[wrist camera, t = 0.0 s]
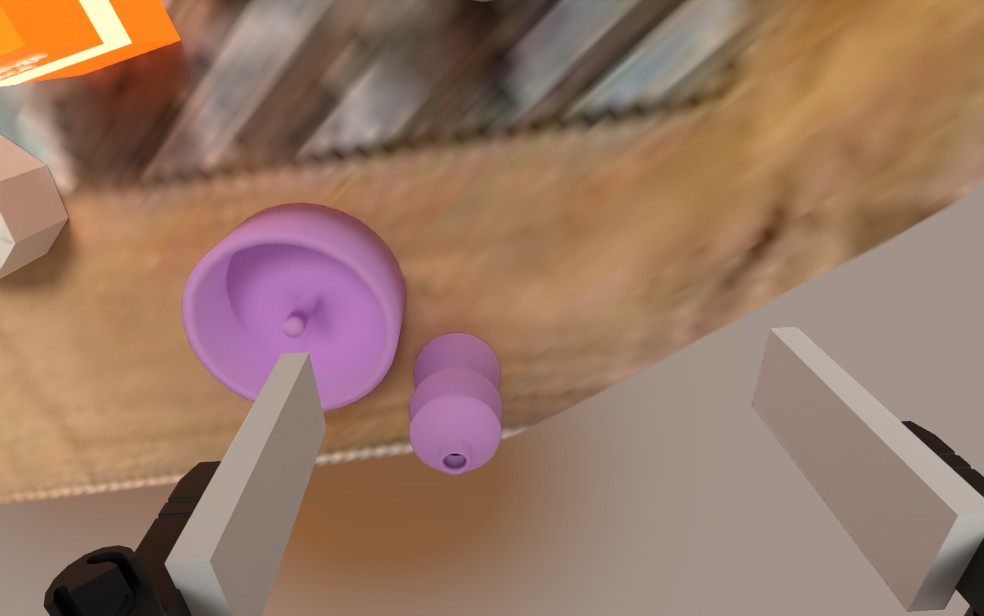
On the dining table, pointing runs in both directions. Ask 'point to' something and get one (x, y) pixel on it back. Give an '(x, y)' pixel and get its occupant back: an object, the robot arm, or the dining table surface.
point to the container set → (336, 327)
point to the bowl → (26, 208)
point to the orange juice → (76, 36)
